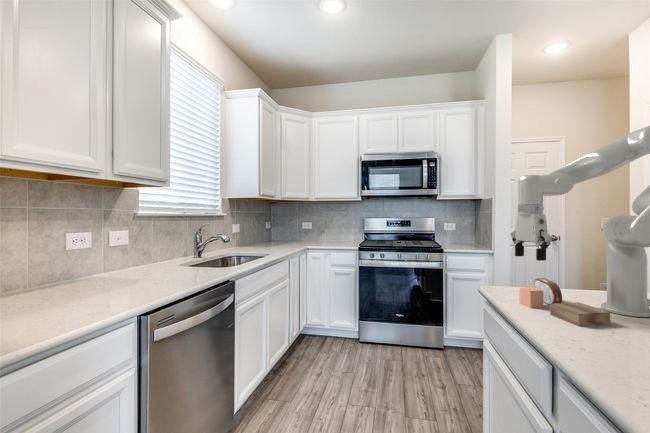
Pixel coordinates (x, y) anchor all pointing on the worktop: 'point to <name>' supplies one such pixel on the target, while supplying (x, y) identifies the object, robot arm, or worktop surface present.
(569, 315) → the walnut base
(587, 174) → the robot arm
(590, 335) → the worktop surface
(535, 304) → the salmon pink block
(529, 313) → the worktop surface
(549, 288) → the tin
